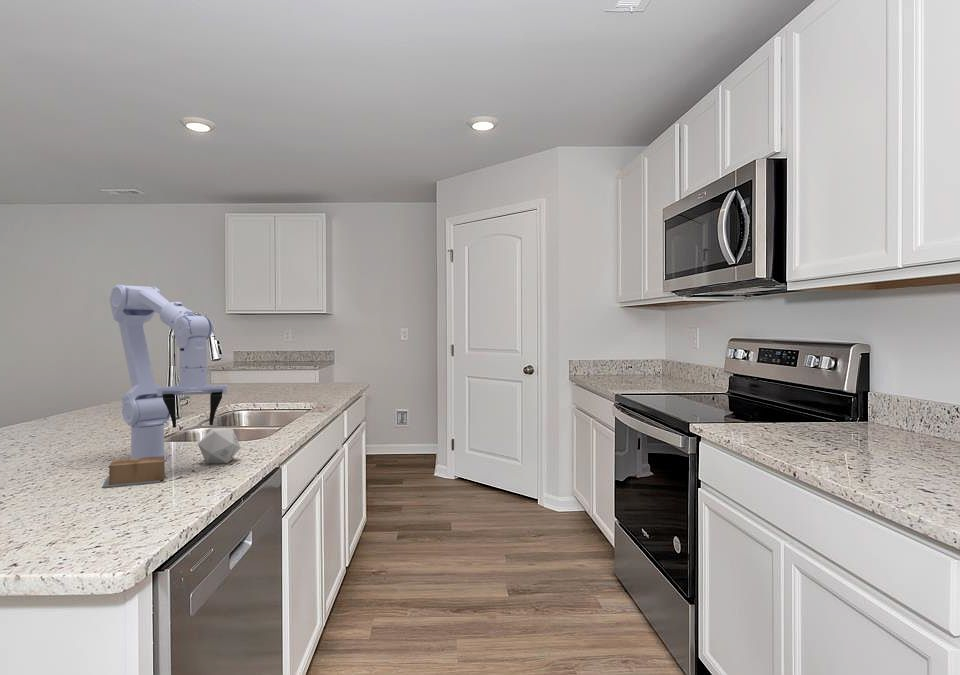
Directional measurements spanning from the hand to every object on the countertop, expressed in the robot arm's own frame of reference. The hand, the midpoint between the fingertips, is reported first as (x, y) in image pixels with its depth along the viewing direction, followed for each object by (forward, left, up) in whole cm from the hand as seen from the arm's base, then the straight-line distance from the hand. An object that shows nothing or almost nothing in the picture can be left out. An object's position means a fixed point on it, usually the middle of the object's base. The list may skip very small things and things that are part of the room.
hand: (193, 425), depth 137 cm
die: (-7, +6, -11) cm, 14 cm away
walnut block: (+5, -6, -8) cm, 11 cm away
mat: (+4, -12, -10) cm, 16 cm away
